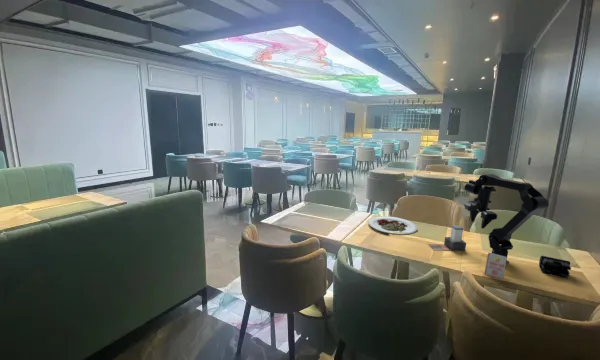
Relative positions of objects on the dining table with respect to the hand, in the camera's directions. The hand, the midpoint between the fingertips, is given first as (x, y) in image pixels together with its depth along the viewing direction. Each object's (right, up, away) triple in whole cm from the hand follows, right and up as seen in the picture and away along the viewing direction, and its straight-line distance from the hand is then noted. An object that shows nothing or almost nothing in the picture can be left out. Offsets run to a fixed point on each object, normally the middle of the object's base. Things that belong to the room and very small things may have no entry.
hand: (477, 224), depth 152 cm
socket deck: (-17, -13, 0) cm, 22 cm away
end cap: (+22, -19, -21) cm, 36 cm away
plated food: (-36, -6, +30) cm, 47 cm away
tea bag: (-8, -19, -24) cm, 32 cm away
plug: (-12, -12, 0) cm, 17 cm away
